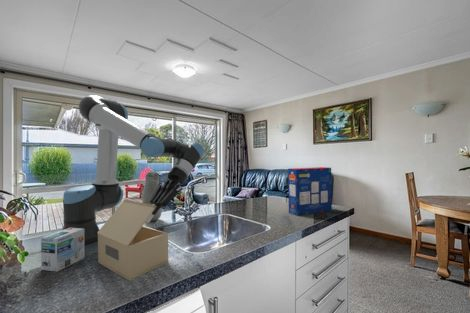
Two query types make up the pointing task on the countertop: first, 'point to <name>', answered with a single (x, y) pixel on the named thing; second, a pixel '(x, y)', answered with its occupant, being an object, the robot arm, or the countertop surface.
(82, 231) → the light bulb box
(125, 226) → the carton flap
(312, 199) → the blue product box
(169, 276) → the countertop surface
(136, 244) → the carton
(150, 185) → the grey vase
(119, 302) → the countertop surface
